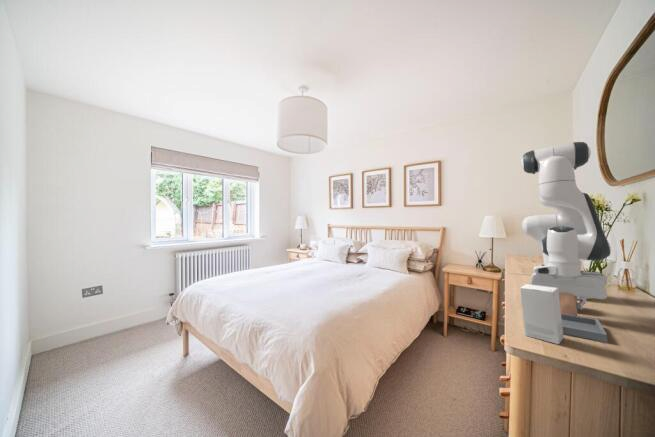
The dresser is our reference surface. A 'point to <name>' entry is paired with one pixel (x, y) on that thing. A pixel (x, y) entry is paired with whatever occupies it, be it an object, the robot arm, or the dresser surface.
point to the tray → (583, 328)
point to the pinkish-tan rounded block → (568, 304)
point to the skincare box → (542, 313)
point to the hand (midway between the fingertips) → (566, 306)
